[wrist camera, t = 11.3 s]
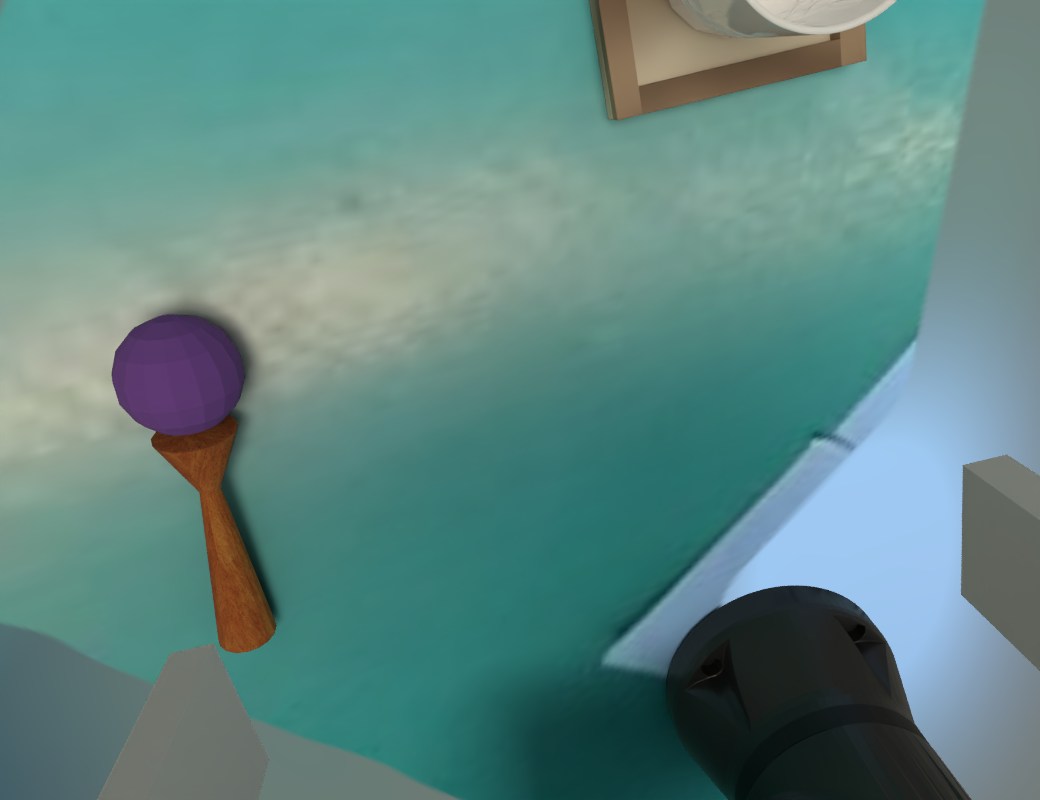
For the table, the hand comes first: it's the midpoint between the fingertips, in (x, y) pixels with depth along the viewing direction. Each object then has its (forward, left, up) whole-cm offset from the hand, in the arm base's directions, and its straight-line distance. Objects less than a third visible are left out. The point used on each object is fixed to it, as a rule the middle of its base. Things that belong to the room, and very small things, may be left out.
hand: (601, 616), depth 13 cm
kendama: (-8, +18, -29) cm, 35 cm away
